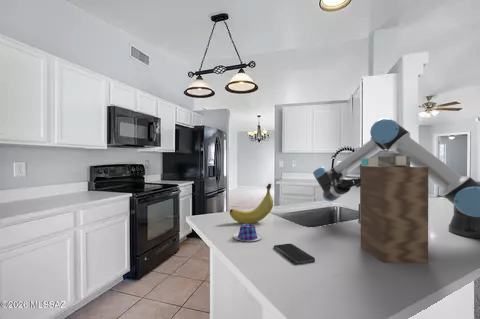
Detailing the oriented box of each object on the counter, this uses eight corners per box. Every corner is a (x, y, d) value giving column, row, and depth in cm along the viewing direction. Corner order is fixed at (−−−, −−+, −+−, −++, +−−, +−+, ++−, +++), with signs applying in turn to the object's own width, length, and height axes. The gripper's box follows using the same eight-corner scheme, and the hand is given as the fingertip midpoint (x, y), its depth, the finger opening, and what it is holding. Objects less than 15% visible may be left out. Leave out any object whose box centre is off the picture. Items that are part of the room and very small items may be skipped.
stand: (398, 246, 87) (398, 154, 87) (428, 262, 73) (428, 153, 73) (360, 246, 87) (360, 154, 87) (383, 262, 73) (383, 152, 73)
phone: (295, 262, 71) (272, 245, 85) (295, 266, 71) (272, 248, 85) (316, 259, 73) (291, 243, 88) (316, 262, 73) (291, 246, 88)
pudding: (255, 232, 104) (255, 220, 104) (267, 241, 92) (267, 228, 93) (229, 235, 100) (229, 222, 100) (238, 244, 89) (238, 230, 89)
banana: (230, 225, 114) (230, 184, 114) (228, 222, 120) (229, 183, 120) (274, 223, 118) (274, 184, 118) (270, 220, 124) (271, 182, 124)
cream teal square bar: (369, 166, 97) (369, 158, 97) (406, 166, 75) (406, 155, 75) (361, 166, 97) (361, 158, 97) (396, 166, 75) (396, 155, 75)
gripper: (365, 195, 120) (391, 181, 101) (317, 193, 119) (334, 179, 100) (362, 181, 123) (387, 165, 104) (315, 179, 123) (332, 163, 103)
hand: (361, 172), depth 102 cm, fingers open, 13 cm apart
